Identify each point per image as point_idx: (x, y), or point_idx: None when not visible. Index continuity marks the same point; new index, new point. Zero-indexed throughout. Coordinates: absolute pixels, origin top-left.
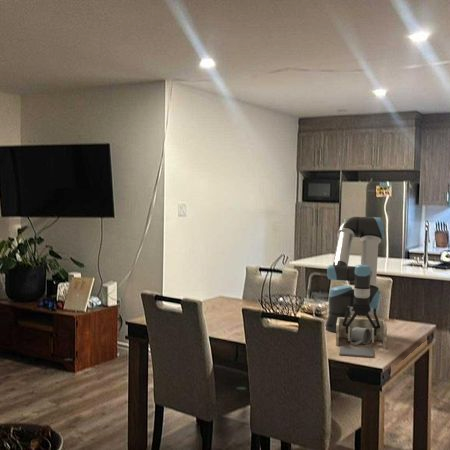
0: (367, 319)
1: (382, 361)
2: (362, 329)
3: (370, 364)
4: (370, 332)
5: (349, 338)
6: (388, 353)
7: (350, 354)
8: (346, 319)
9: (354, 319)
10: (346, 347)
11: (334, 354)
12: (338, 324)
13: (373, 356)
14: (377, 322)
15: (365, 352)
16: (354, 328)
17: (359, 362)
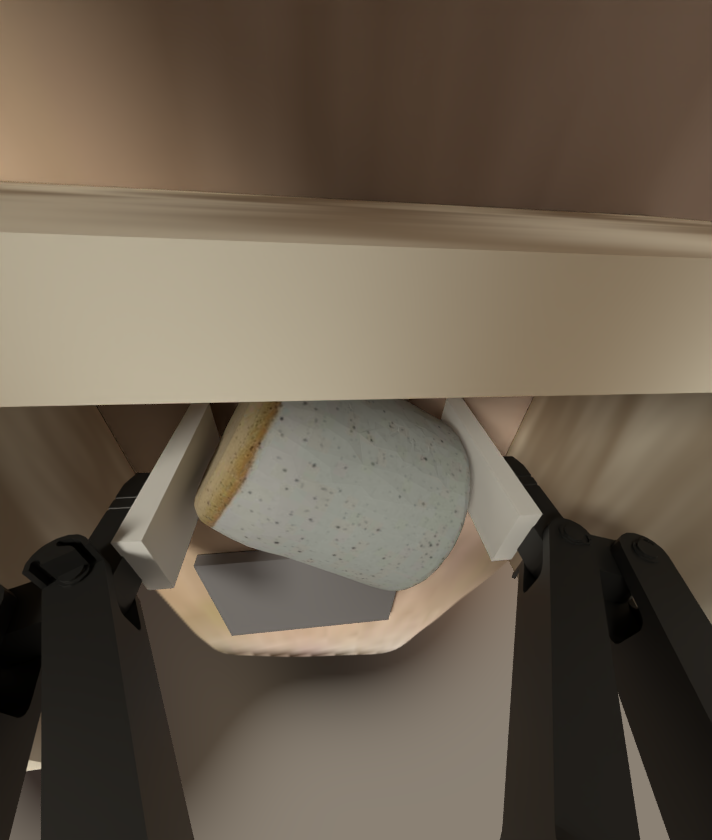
0: (705, 363)
1: (414, 623)
2: (359, 581)
3: (364, 646)
4: (463, 475)
5: None
6: (476, 558)
7: (284, 629)
8: (8, 802)
9: (5, 390)
10: (242, 575)
11: (207, 624)
12: (35, 763)
13: (387, 617)
14: (633, 676)
15: (355, 601)
16: (239, 541)
17: (326, 646)
